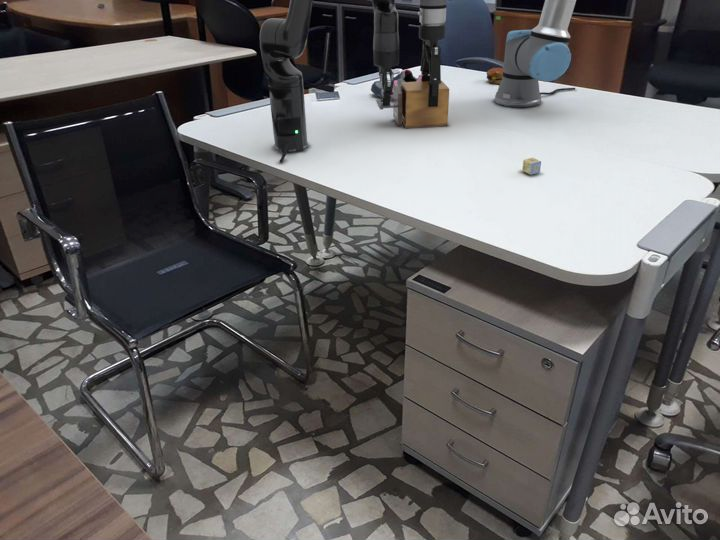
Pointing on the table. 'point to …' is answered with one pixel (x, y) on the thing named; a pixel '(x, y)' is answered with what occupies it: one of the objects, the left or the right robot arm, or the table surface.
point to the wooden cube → (424, 105)
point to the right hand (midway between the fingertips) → (429, 101)
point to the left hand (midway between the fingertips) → (386, 107)
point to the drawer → (396, 104)
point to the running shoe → (396, 82)
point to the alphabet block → (531, 166)
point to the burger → (495, 75)
